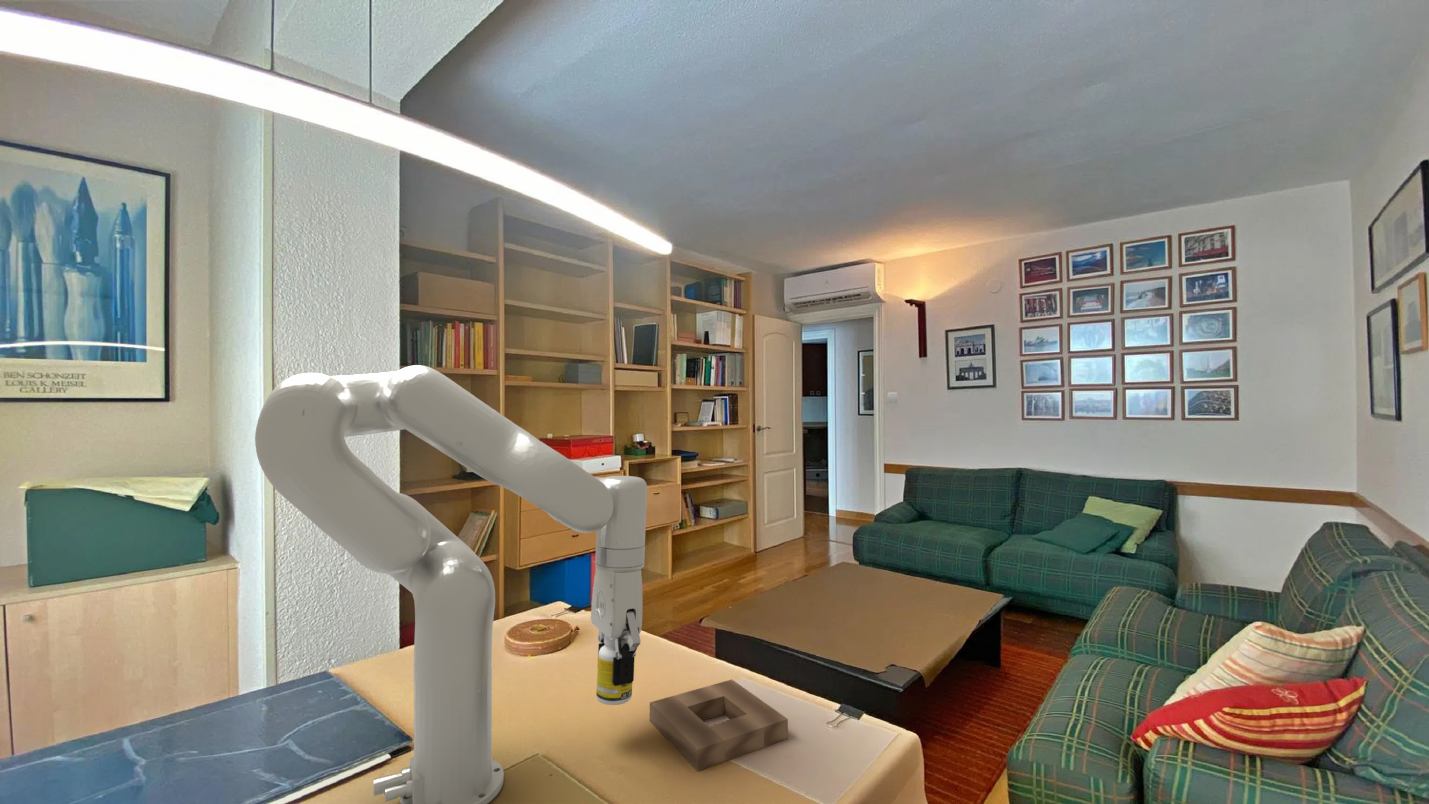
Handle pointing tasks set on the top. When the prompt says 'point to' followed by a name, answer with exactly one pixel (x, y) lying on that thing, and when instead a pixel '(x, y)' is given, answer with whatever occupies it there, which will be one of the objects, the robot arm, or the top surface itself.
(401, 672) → the top surface
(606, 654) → the supplement bottle
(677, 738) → the socket block
